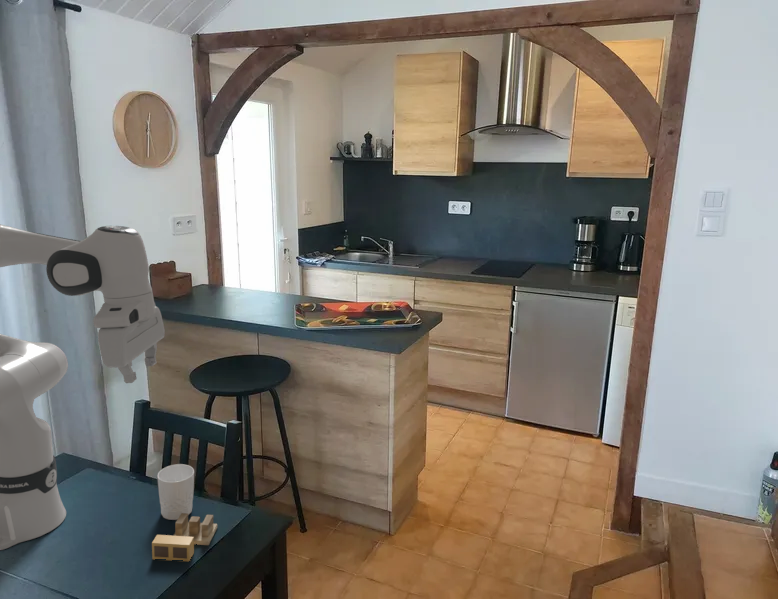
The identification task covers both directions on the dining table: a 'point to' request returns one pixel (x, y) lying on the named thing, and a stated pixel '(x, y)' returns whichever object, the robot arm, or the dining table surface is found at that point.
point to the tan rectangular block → (173, 547)
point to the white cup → (176, 490)
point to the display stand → (196, 528)
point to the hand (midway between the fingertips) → (141, 373)
